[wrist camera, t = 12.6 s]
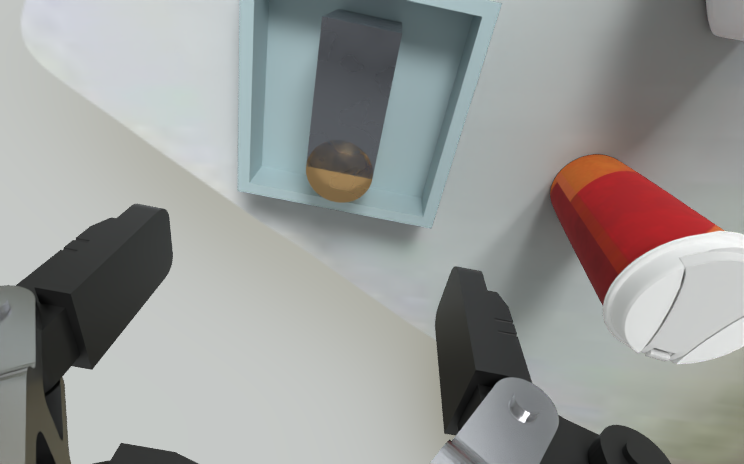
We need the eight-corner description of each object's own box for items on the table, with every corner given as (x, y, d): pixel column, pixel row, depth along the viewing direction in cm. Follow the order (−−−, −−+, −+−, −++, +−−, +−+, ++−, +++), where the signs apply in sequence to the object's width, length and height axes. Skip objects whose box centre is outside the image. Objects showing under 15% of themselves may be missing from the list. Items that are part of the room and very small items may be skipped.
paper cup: (603, 241, 34) (713, 385, 22) (517, 215, 33) (582, 349, 21) (666, 156, 29) (843, 275, 18) (570, 124, 29) (688, 226, 17)
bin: (262, -51, 24) (240, -55, 21) (488, -1, 25) (502, 3, 22) (255, 168, 32) (237, 190, 29) (428, 202, 33) (431, 228, 29)
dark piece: (319, 159, 30) (303, 195, 25) (338, 8, 25) (322, 16, 20) (372, 169, 30) (366, 208, 25) (402, 22, 25) (402, 33, 20)
